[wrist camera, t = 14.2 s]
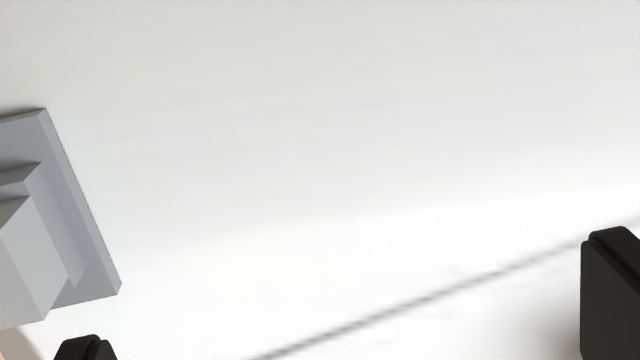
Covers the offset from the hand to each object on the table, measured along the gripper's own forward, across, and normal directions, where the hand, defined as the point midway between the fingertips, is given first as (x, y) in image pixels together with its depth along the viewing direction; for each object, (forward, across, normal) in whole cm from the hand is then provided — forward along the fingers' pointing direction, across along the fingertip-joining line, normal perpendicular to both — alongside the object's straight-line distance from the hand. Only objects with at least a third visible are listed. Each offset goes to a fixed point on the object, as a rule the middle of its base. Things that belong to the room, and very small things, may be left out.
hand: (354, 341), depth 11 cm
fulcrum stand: (+28, +23, +8) cm, 37 cm away
